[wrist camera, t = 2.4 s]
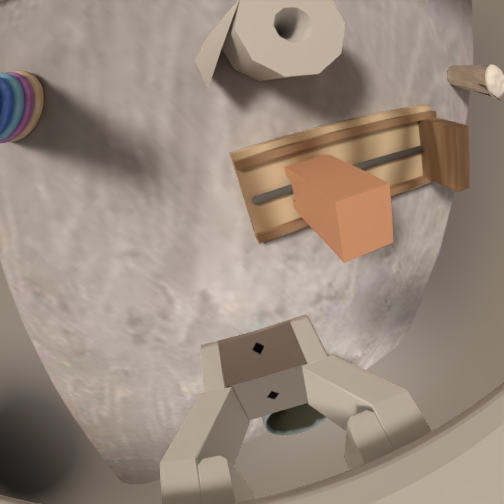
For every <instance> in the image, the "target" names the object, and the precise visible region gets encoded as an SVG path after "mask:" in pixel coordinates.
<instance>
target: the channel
mask: <svg viewBox="0 0 504 504" xmlns="http://www.w3.org/2000/svg"><path fill="white" fill-rule="evenodd" d="M435 117H436V111H431V109H430V105H418V106H412V107H407V108H401V109H396V110H391V111H386V112H381V113H376V114H371V115H366V116H362V117H357V118H353V119H349V120H344V121H340V122H336V123H332V124H328V125H324V126H320V127H316V128H312V129H309V130H305V131H301V132H298V133H294V134H290V135H287V136H283V137H280V138H277V139H273V140H270V141H267V142H263V143H260V144H257V145H254V146H250V147H247V148H244V149H241V150H238V151H235V152H232V153H230V156H231V159H232V162H233V165H234V169H235V172H236V175H237V178H238V181H239V184H240V188H241V191H242V194H243V197H244V200H245V203H246V207H247V210H248V213H249V216H250V219H251V223H252V226H253V229H254V232H255V235H256V239H257V241H258V243H259V244H262V243H265V242H267V241H270V240H273V239H276V238H278V237H281V236H284V235H287V234H290V233H292V232H295V231H298V230H301V229H303V228H306V227H309V225H308V223H307V222H306V221H305V220H304V219H303V218H302V217H301V216H300V215H299V214H298V212H297V211H296V210H295V208H294V204H293V200H295V198H294V193H293V192H292V193H289V194H286V195H283V196H280V197H278V198H275V199H272V200H269V201H266V202H263V203H260V204H257V205H255V204H253V203H252V198H253V197H255V196H258V195H261V194H264V193H266V192H269V191H272V190H275V189H278V188H281V187H284V186H287V185H290V184H291V181H290V179H289V178H288V177H287V176H286V172H285V168H284V167H286V166H289V165H293V164H296V163H299V162H302V161H306V160H309V159H312V158H316V157H319V156H322V155H331V156H334V157H336V158H338V159H340V160H342V161H345V162H347V163H349V164H351V165H354V164H357V163H361V162H364V161H368V160H371V159H374V158H378V157H381V156H385V155H388V154H392V153H396V152H399V151H403V150H406V149H410V148H414V147H417V146H423V147H424V152H422V153H418V154H415V155H411V156H408V157H404V158H401V159H397V160H394V161H391V162H387V163H384V164H380V165H377V166H374V167H371V168H367V169H364V171H366V172H368V173H370V174H372V175H374V176H376V177H378V178H380V179H382V180H384V181H386V182H387V183H389V184H390V195H391V197H392V196H395V195H398V194H401V193H404V192H406V191H409V190H412V189H415V188H418V187H421V186H423V185H426V184H429V183H432V182H438V183H440V184H442V185H444V186H446V187H448V188H450V189H452V190H454V191H456V192H460V191H462V190H465V189H467V188H469V136H468V126H467V125H463V124H460V123H456V122H452V121H447V120H443V119H439V118H435Z"/></svg>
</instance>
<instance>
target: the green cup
mask: <svg viewBox="0 0 504 504" xmlns="http://www.w3.org/2000/svg"><path fill="white" fill-rule="evenodd" d="M262 418H263V424H264V427H265V428H266V430H267V431H268V432H270V433H272V434H275V435H292V434H297V433H301V432H304V431H306V430H309V429H311V428H313V427H315V426H317V425H318V424H320V423H321V422H323V421H324V420H325V419H326V418H327V417H326V416H324V415H323V414H321V413H320V412H319V411H317V410H316V409H315V408H313V407H312V406H310V405H309V404H308V403H305V404H302V405H299V406H295V407H292V408H289V409H285V410H281V411H278V412H275V413H272V414H268V415H265V416H262Z"/></svg>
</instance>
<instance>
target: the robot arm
mask: <svg viewBox="0 0 504 504" xmlns="http://www.w3.org/2000/svg"><path fill="white" fill-rule="evenodd" d="M200 356H201V365H202V374H203V383H204V391H205V393H203V394H199V396H198V398H197V400H196V401H195V403H194V405H193V407H192V408H191V410H190V412H189V414H188V415H187V417H186V419H185V421H184V422H183V424H182V426H181V428H180V429H179V431H178V433H177V435H176V436H175V438H174V440H173V442H172V443H171V445H170V447H169V448H168V450H167V452H166V454H165V455H164V457H163V459H162V460H161V462H160V476H161V490H162V504H504V383H502V384H501V385H500V386H498V387H497V388H496V389H494V390H493V391H492V392H490V393H489V394H488V395H487V396H485V397H484V398H482V399H481V400H479V401H478V402H477V403H475V404H474V405H473V406H471V407H469V408H468V409H466V410H465V411H463V412H462V413H460V414H459V415H457V416H456V417H454V418H453V419H451V420H449V421H448V422H446V423H444V424H443V425H441V426H440V427H438V428H436V429H434V430H433V431H431V429H430V427H429V426H428V424H427V422H426V420H425V419H424V417H423V415H422V414H421V412H420V411H419V409H418V407H417V406H416V404H415V402H414V401H413V399H412V398H411V396H410V395H409V393H408V391H407V390H405V389H403V388H401V387H399V386H396V385H394V384H392V383H390V382H388V381H386V380H384V379H382V378H380V377H378V376H376V375H373V374H372V373H370V372H367V371H365V370H363V369H361V368H359V367H357V366H355V365H353V364H351V363H349V362H347V361H345V360H343V359H341V358H339V357H337V356H335V355H331V356H328V355H327V353H326V351H325V349H324V347H323V345H322V343H321V341H320V339H319V337H318V335H317V333H316V331H315V329H314V327H313V325H312V323H311V321H310V319H309V317H308V316H307V315H306V314H305V315H302V316H299V317H296V318H293V319H290V320H288V321H284V322H281V323H278V324H275V325H272V326H269V327H265V328H262V329H259V330H256V331H253V332H250V333H246V334H242V335H239V336H235V337H231V338H227V339H223V340H219V341H216V342H212V343H208V344H204V345H201V347H200ZM305 403H308V404H309V405H310V406H312V407H313V408H315V409H316V410H317V411H319V412H320V413H321V414H323V415H324V416H326V417H327V418H328V419H330V420H331V421H333V422H334V423H336V424H337V425H339V426H340V427H342V428H343V429H344V430H346V431H347V434H346V443H345V454H344V457H345V460H346V462H347V465H348V468H349V471H346V472H344V473H341V474H339V475H336V476H333V477H330V478H327V479H324V480H322V481H318V482H315V483H312V484H309V485H306V486H302V487H299V488H296V489H292V490H289V491H285V492H281V493H277V494H273V495H269V496H265V497H260V498H256V499H254V496H253V491H252V487H251V485H250V484H249V482H247V480H246V479H245V478H244V477H243V476H242V475H241V474H240V473H239V472H238V471H237V470H236V469H235V468H234V464H235V461H236V458H237V456H238V453H239V450H240V448H241V445H242V442H243V440H244V437H245V434H246V431H247V428H248V426H249V423H250V421H249V420H252V419H255V418H259V417H262V416H265V415H268V414H272V413H275V412H278V411H281V410H285V409H289V408H292V407H295V406H299V405H302V404H305ZM0 504H37V503H32V502H27V501H22V500H18V499H14V498H9V497H5V496H2V495H0Z"/></svg>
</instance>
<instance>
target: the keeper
mask: <svg viewBox="0 0 504 504" xmlns="http://www.w3.org/2000/svg"><path fill="white" fill-rule="evenodd" d="M284 168H285V172H286V176H287V177H288V178H289V179H290V181H291V185H292V189H293V193H294V198H295V200H293V204H294V208H295V210H296V211H297V212H298V214H299V215H300V216H301V217H302V218H303V219H304V220H305V221H306V222H307V223H308V225H309V226H310V227H311V228H312V229H313V230H314V231H315V232H316V233H317V234H318V235H319V236H320V237H321V238H322V239H323V240H324V242H325V243H326V244H327V245H328V246H329V247H330V248H331V249H332V250H333V251H334V252H335V253H336V254H337V256H338V257H339V258H340V259H341V260H342V261H343V262H344V263H345V262H347V261H350V260H352V259H355V258H357V257H359V256H362V255H364V254H367V253H369V252H372V251H374V250H376V249H379V248H381V247H383V246H386V245H388V244H391V243H393V224H392V208H391V195H390V184H389V183H387V182H386V181H384V180H382V179H380V178H378V177H376V176H374V175H372V174H370V173H368V172H366V171H364V170H361V169H359V168H357V167H355V166H353V165H351V164H349V163H347V162H345V161H342V160H340V159H338V158H336V157H334V156H331V155H322V156H319V157H316V158H312V159H309V160H306V161H302V162H299V163H296V164H293V165H289V166H286V167H284Z"/></svg>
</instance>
